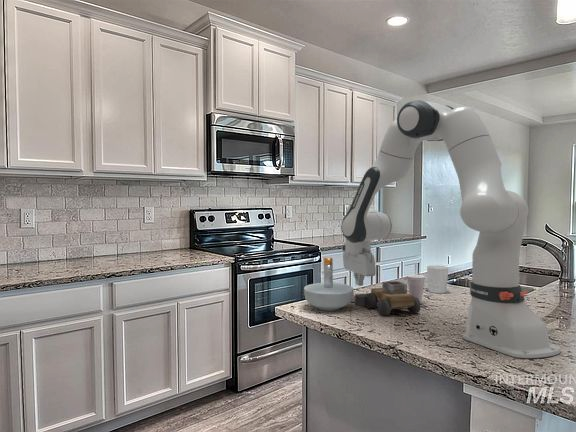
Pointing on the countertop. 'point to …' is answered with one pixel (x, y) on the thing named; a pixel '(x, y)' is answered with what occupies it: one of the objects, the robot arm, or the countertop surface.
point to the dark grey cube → (360, 300)
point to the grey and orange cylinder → (328, 272)
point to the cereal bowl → (328, 296)
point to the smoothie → (416, 284)
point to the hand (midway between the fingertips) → (359, 285)
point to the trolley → (392, 298)
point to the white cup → (437, 278)
